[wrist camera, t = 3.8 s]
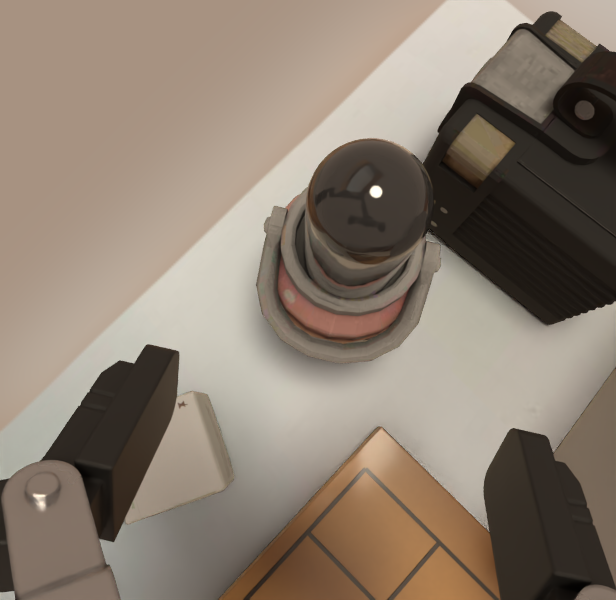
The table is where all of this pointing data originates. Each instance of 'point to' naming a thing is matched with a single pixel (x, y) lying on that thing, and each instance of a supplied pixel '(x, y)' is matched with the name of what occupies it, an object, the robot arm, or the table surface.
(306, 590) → the board
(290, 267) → the beverage can
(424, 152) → the table surface
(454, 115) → the camera
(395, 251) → the ball
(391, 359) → the table surface
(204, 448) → the small box
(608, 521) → the alarm clock
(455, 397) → the table surface
